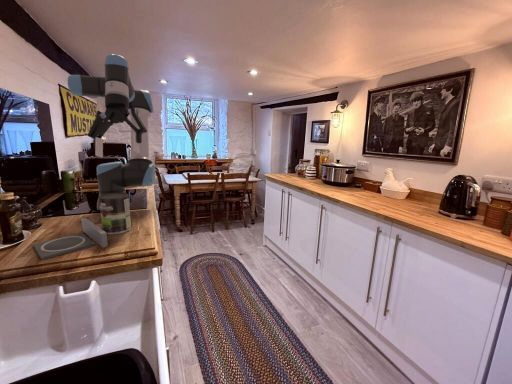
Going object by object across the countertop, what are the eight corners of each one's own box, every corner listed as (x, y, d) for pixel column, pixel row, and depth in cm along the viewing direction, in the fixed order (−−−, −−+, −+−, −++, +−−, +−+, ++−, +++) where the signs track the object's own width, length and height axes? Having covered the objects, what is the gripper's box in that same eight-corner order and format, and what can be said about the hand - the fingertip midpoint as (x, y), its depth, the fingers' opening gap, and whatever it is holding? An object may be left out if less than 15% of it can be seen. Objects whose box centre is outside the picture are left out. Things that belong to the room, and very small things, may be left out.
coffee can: (116, 236, 93) (112, 199, 90) (96, 232, 97) (91, 197, 94) (137, 227, 103) (134, 193, 100) (118, 223, 106) (115, 191, 103)
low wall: (82, 230, 98) (81, 218, 97) (87, 229, 99) (85, 217, 98) (102, 247, 84) (101, 233, 82) (107, 246, 85) (106, 232, 84)
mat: (33, 246, 84) (33, 243, 84) (82, 234, 94) (81, 232, 94) (41, 259, 75) (41, 257, 75) (94, 245, 85) (94, 242, 85)
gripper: (76, 96, 87) (75, 155, 84) (145, 87, 85) (147, 146, 82) (91, 106, 94) (91, 161, 91) (155, 98, 93) (157, 153, 90)
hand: (117, 154), depth 87 cm, fingers open, 13 cm apart
